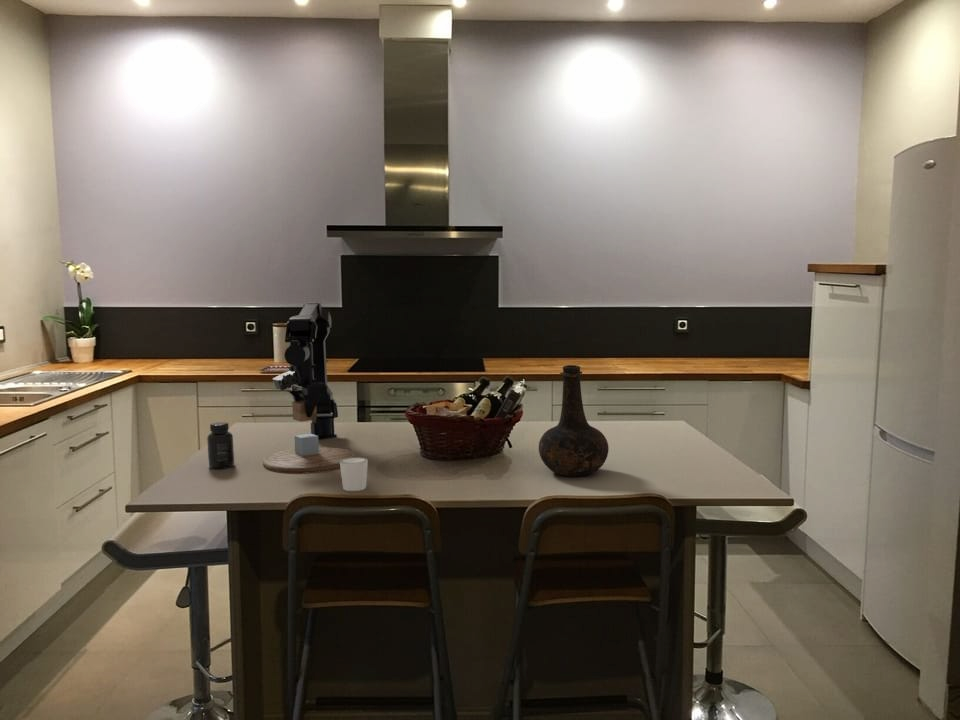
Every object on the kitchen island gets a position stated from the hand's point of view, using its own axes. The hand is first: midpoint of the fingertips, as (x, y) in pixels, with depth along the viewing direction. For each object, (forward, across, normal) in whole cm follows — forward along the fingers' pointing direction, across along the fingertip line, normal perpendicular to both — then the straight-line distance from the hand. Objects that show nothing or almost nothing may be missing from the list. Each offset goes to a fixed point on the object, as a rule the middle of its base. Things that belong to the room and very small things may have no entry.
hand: (304, 415), depth 241 cm
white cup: (+12, +39, -6) cm, 41 cm away
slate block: (+11, +1, 0) cm, 11 cm away
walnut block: (+1, 0, 0) cm, 1 cm away
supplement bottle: (+12, -5, -23) cm, 26 cm away
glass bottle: (+12, +63, +45) cm, 78 cm away
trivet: (+13, +6, -2) cm, 14 cm away
